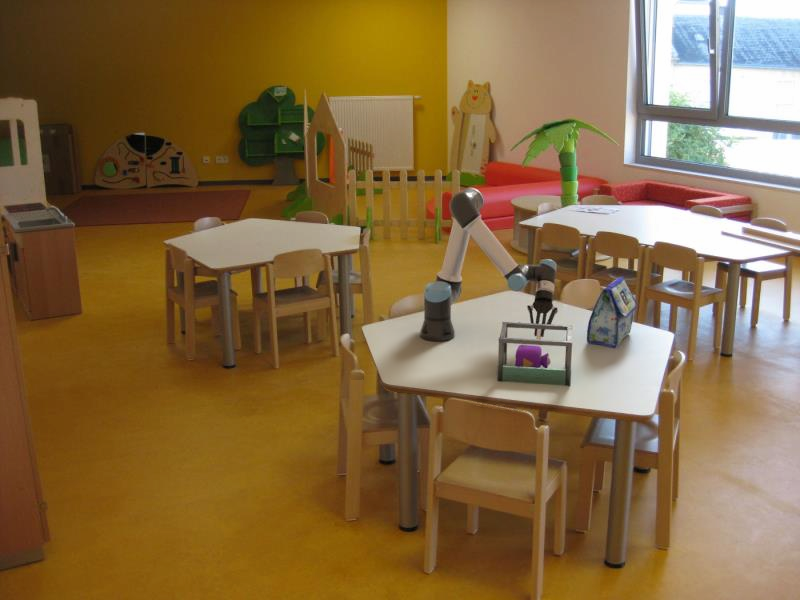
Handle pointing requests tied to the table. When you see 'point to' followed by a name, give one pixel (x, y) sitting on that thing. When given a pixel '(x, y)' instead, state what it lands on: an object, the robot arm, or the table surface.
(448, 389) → the table surface
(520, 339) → the frame
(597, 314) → the lunch bag
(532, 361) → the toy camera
